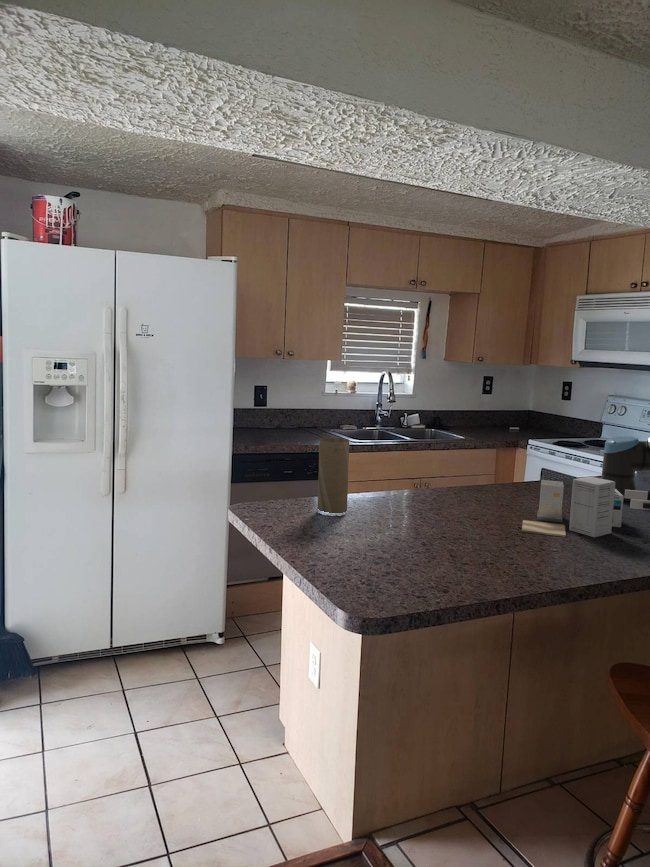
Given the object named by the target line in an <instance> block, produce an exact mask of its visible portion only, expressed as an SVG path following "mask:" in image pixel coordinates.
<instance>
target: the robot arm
mask: <svg viewBox="0 0 650 867" xmlns="http://www.w3.org/2000/svg"><path fill="white" fill-rule="evenodd" d="M602 460H603V461H602V470H601V477H600V479H605V480H610V481H614V482H615V489H617V490H618V491H619V492H620V493H621V494H622V495H623V496H624V500H623V502H630V504H629V508H630V509H634V510H644V511H646V510H647V511H650V489H649V490H648V491H646V490H645V491H644V490H638V488H637V484H636V481H635V480H636V478H635V476H636V472H645V473H647V472H649V473H650V437H648V439H647V441H645V440H639V438H638V437H636V436H614V437H610V438H608V439H606V441H605V442H604V448H603V459H602Z"/></svg>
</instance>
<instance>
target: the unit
mask: <svg viewBox="0 0 650 867" xmlns="http://www.w3.org/2000/svg"><path fill="white" fill-rule="evenodd" d="M540 481H541V483H540V494H539V503H538V504H539V508H538V510H537V512H536V516H537V517H536V520H537V521H543V522H544V521H545V522H552V523H553V522H554V523H563V512H562V511H563V510H562V509H563V501H564V500H563V499H564V490H565V485H564V481H558V480H550V479H549V480H548V479H541V480H540Z"/></svg>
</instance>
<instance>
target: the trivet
mask: <svg viewBox="0 0 650 867" xmlns="http://www.w3.org/2000/svg"><path fill="white" fill-rule="evenodd" d="M521 533H527V534H535V535H536V534H537V535H545V536H554V537H555V536H556V537H564V538H566V537H567V534H566V525H565V524H564V523H562V524H561V523H556V522H554V523H553V522H547V521H545V522H544V521H538V520H537V521H534V520H524V519H522V526H521Z"/></svg>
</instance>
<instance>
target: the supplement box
mask: <svg viewBox="0 0 650 867" xmlns="http://www.w3.org/2000/svg"><path fill="white" fill-rule="evenodd" d="M600 478H601V477H600ZM600 478H599V477H595V476H584V477H580V478H573V479H572V487H571V497H570V498H571V500H570V513H569V525H568V527H569V528H568V531H571V532H575V533H578V534H582V535H585V536H589V537H591V538H597V537H602V536H605V535H610V534H612V516H613V505H614V493H615V482H614V481H610V480H605V479H600Z"/></svg>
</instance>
